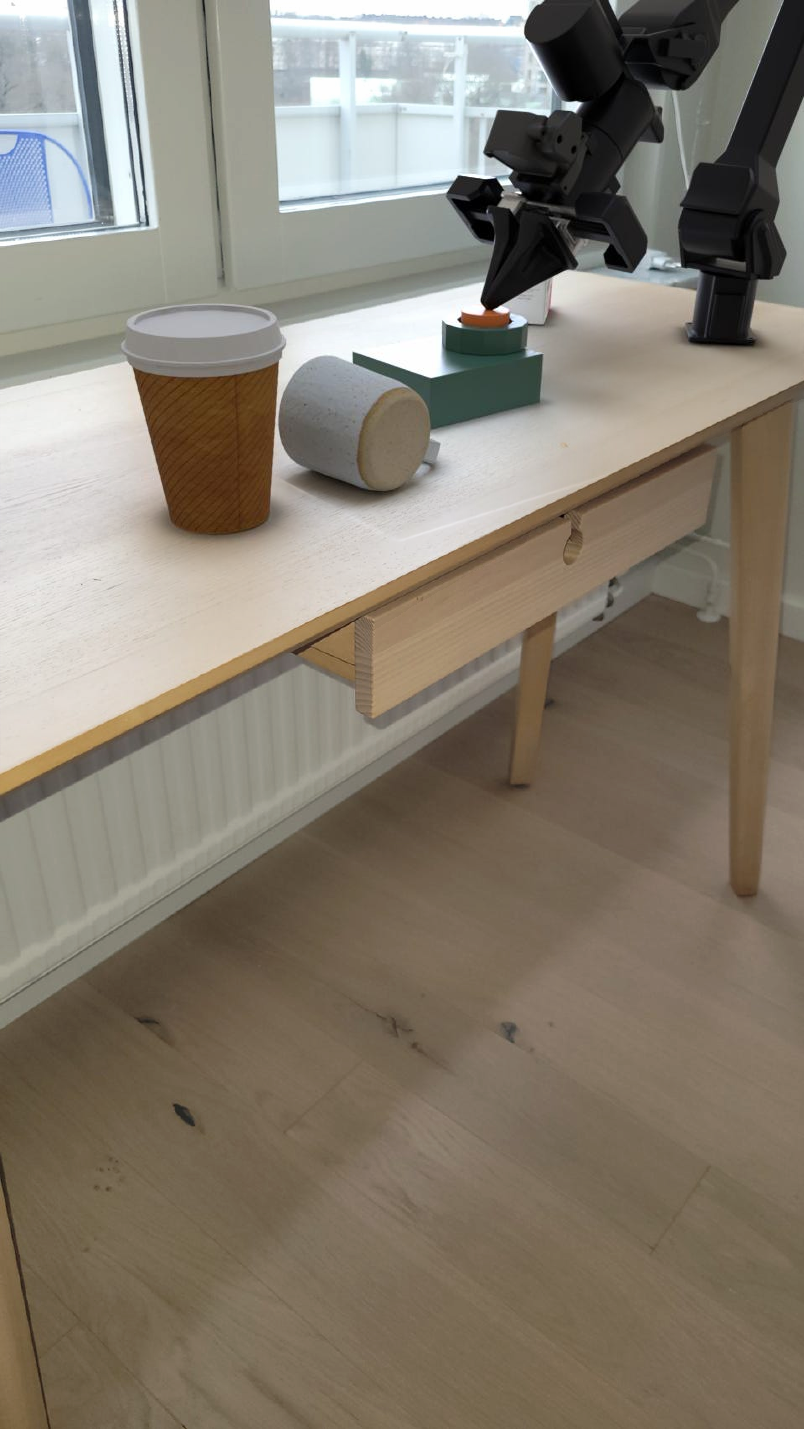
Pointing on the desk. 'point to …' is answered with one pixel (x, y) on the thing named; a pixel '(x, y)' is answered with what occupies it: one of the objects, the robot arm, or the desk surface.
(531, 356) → the green button base
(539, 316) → the ink cartridge box
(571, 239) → the robot arm
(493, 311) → the orange squat cylinder
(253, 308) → the disposable coffee cup
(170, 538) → the desk surface
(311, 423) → the ceramic mug
